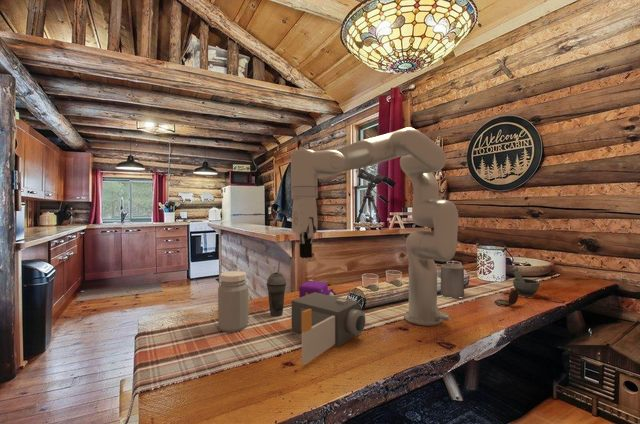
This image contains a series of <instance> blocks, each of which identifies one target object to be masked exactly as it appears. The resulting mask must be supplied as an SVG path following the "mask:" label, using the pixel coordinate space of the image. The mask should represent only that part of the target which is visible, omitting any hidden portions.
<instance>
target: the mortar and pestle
mask: <svg viewBox="0 0 640 424" xmlns="http://www.w3.org/2000/svg"><path fill="white" fill-rule="evenodd" d="M511 272H512V273H513V276H514V278H513V280H512V284H513V287H514V289H515V290H517V291H518V295H521V296H525V297H534V298H535V294H536V293H537V292H538V290H539V289H540V281H537V280H535V279H530V278H523V276H522V274H521V273H520V271H519V268H518V267H514V268H511Z"/></svg>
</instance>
